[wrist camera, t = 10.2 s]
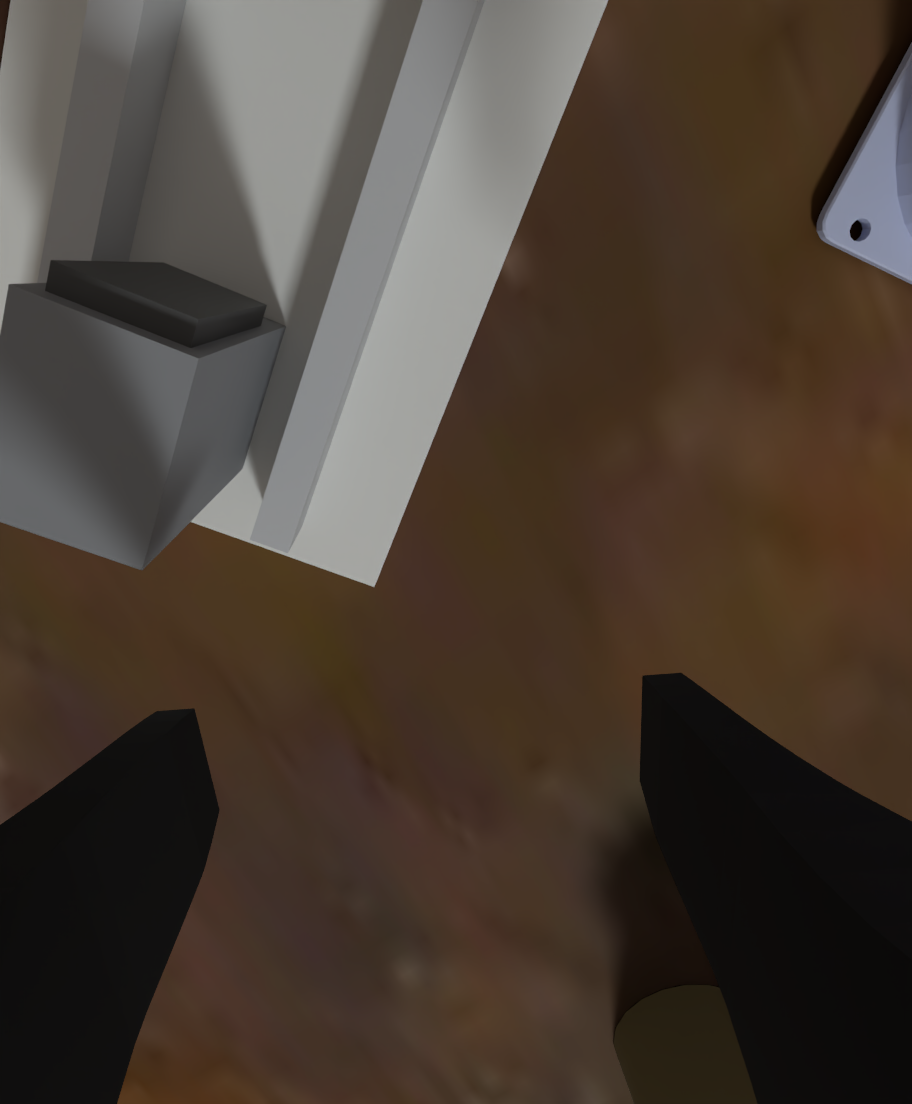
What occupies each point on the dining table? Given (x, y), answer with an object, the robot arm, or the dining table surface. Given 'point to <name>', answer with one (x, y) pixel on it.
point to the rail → (255, 255)
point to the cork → (682, 1049)
